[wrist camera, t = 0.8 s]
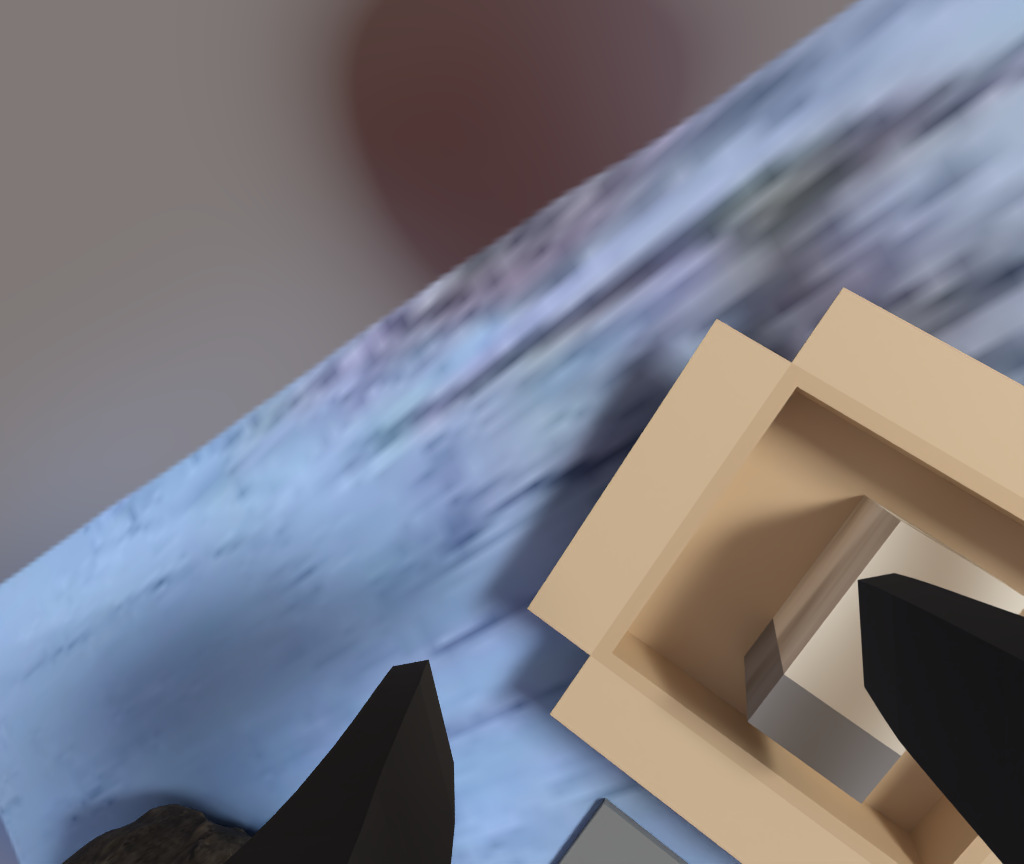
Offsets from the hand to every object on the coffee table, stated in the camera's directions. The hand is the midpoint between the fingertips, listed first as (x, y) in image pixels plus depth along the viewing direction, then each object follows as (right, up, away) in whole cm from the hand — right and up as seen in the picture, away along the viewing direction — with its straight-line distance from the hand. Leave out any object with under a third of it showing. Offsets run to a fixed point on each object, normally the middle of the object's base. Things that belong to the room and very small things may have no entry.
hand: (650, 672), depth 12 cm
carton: (+11, -3, +16) cm, 20 cm away
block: (+11, -3, +16) cm, 19 cm away
